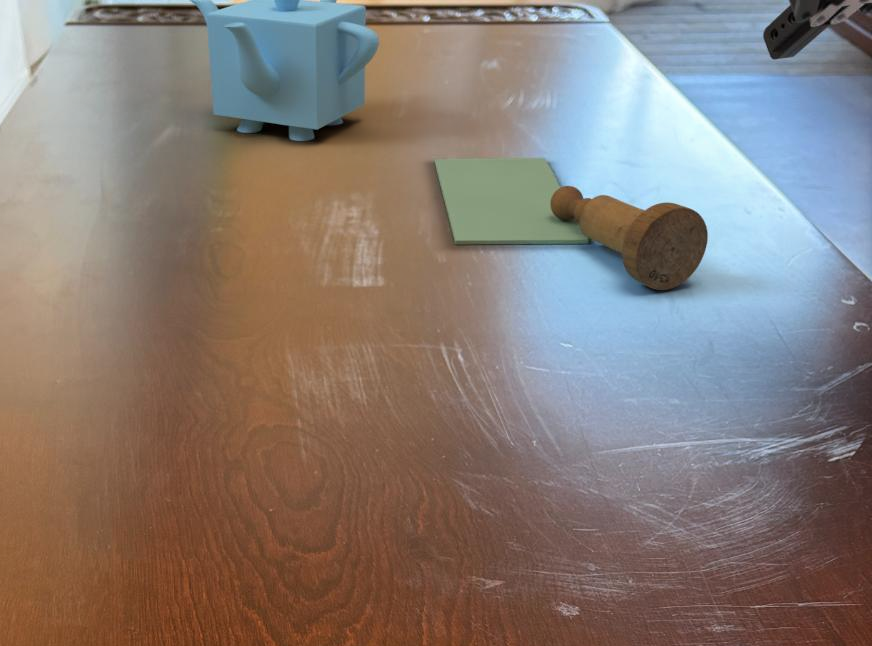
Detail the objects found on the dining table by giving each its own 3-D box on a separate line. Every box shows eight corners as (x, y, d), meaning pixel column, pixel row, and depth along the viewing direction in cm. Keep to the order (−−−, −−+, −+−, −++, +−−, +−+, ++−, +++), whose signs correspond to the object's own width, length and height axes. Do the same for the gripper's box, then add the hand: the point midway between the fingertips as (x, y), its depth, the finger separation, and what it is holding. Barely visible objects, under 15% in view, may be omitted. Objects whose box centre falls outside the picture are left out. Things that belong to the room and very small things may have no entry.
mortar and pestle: (720, 249, 85) (601, 199, 99) (688, 190, 81) (569, 147, 95) (658, 306, 85) (549, 248, 100) (623, 251, 82) (515, 199, 96)
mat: (544, 161, 113) (545, 157, 113) (588, 243, 94) (589, 239, 93) (434, 162, 113) (434, 158, 113) (455, 244, 94) (455, 240, 93)
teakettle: (387, 140, 120) (391, -3, 111) (228, 155, 115) (219, 8, 106) (337, 99, 134) (338, -29, 125) (195, 111, 130) (184, -21, 121)
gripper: (1076, -239, 54) (830, -14, 71) (893, -237, 50) (675, 3, 66) (1129, -111, 54) (868, 87, 70) (948, -98, 49) (715, 110, 66)
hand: (775, 46), depth 68 cm, fingers closed
